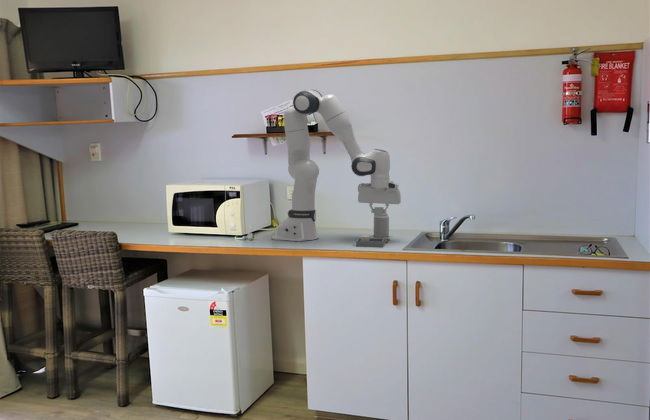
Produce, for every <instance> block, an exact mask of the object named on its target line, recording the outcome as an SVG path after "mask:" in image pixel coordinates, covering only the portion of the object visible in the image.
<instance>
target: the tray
mask: <svg viewBox="0 0 650 420" xmlns="http://www.w3.org/2000/svg"><path fill="white" fill-rule="evenodd" d="M380 238H381V239H385V245H386V244H388V243H389V241H390V238H388V237H380Z"/></svg>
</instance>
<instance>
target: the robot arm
mask: <svg viewBox="0 0 650 420" xmlns="http://www.w3.org/2000/svg"><path fill="white" fill-rule="evenodd" d="M292 101H293V102H292V107H288V108H287V109H285V111H284V114H283V128H284V134H285V139H286V145H287V163H288V168H287V169H288V170H287V171H288V173H289V176H290V177H291V178H292V179H294V184H293V189H292V193H291V209H289V210H288V211H287V216H288V217H287V218H285V219H284V220H283V221H282V222H281V223H279V224H278V226H277V228H276V232H275V234H274V235H272V236H271V239H272V240H277V241H292V242H293V241H294V242H304V241H313V240H317V239H319V236H318V233H317V226H316V221H317V213H316V212H317V211H316V209H315V208H316V207H315V202H316V201H315V199H316V198H315V197H316V196H315V195H316V188H317V182H318V177H319V174H320V168H319V166H318V165H317V163H316V162H315V161H314V160H313V159H311V158H310V157H311V156H310V151H311V149H310V148H311V141H310V133H309V127H308V120H307V119H308V116H310V115H312V114H315V113H318V114H320V115H321V117H322V119H323V121H324V123H325V125H326V126H327V129H329V131H330V132H331V133H332V135H334V137H335V138H337V139H338V140H339V141H340V142H341V143H342V144H343V146H344V148H345V150H346V151H347V154H348V155H349V157H350V160H351V170H352V173H354V174H355V176H358V177H365V176H370V183H369V182H368V183H364V182H362V183H361V182H360V183H359V184H358V185H357V192H358V194H357V195H358V196H357V201H358V203H359V204H361V203H363V204H368V205H369V207H370V211H371V214H374V207H373V204H384V205H385V208H384V209H383V213H387V209H388V208H389V206H390V205H400V204H401V201H402V197H401V191H400V189H399V183H398V182H396V181H392V180H390V169H391V158H390V157H391V155H390V154H389V152H388V151H387V150H384V149H380V148H374V149H372V150H371V151H369V152H367V153H364V152H363V150H362V149H361V147H360V145H359V144H358V141H357V140H356V138H355V135H354V131H353V127H352V122H351V119H350V117H349V114H348V112H347V110H346V109H345V107H344V105H343V103H342V102H341V100H339V98H338V97H337V96H336V95H335V94H331V93H329V94H326V95H325V94H324V95H322V94H321V92H319V91H318V90H316V89H305V90H301V91H299V92H298V93H296V94H295V95H294V97H293V100H292Z"/></svg>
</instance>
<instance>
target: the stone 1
mask: <svg viewBox="0 0 650 420" xmlns="http://www.w3.org/2000/svg"><path fill="white" fill-rule="evenodd" d="M359 238H360V241H370V238H371V235H361V236H360V237H359Z"/></svg>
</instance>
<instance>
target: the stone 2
mask: <svg viewBox="0 0 650 420" xmlns="http://www.w3.org/2000/svg"><path fill="white" fill-rule="evenodd" d="M373 209H374V213H373V217H374V216H380V217H383V209H385V208H384V207H381V206H374V207H373Z"/></svg>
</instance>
